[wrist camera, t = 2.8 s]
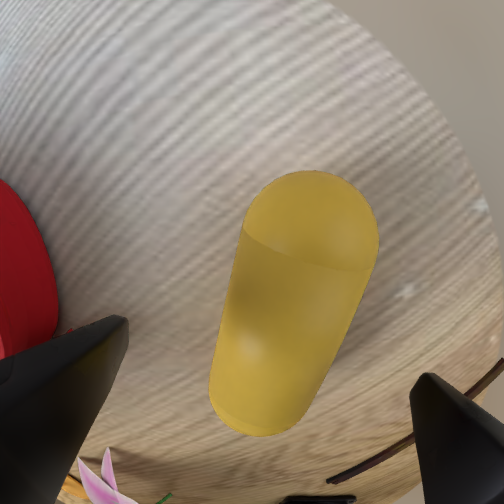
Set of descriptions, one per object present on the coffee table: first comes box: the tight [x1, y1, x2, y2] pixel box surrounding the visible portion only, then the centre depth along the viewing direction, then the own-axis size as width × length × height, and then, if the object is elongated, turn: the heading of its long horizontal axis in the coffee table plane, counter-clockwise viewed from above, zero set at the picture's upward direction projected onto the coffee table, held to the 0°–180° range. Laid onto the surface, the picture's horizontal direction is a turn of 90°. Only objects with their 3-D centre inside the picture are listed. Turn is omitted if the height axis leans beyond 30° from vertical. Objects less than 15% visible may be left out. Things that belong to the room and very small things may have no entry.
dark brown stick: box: [326, 358, 504, 485], centre depth 15 cm, size 15×1×1 cm
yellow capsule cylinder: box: [208, 170, 379, 437], centre depth 10 cm, size 4×10×4 cm, turn 167°
